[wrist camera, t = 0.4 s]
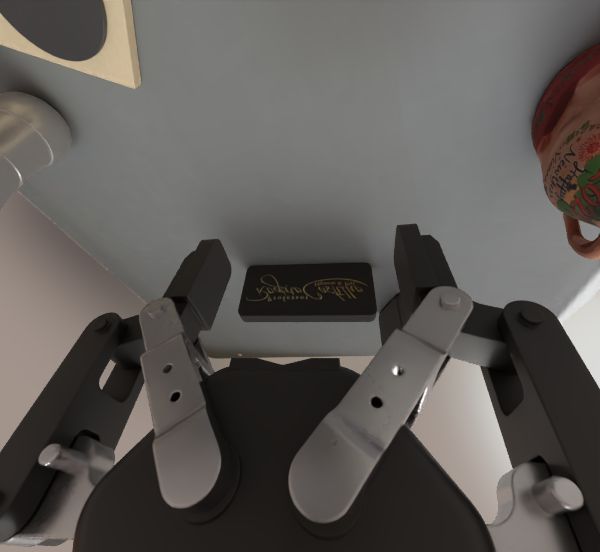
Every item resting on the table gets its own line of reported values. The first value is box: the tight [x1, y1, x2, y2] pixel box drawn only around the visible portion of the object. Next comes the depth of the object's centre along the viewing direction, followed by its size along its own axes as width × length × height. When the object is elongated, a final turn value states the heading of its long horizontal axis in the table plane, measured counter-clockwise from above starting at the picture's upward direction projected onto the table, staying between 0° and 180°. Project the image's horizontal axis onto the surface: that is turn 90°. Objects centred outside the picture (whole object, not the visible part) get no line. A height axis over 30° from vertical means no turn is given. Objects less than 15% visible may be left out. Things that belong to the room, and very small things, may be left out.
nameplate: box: [238, 263, 377, 322], centre depth 45 cm, size 21×2×10 cm, turn 96°
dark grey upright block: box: [379, 294, 407, 346], centre depth 51 cm, size 9×4×15 cm, turn 167°
